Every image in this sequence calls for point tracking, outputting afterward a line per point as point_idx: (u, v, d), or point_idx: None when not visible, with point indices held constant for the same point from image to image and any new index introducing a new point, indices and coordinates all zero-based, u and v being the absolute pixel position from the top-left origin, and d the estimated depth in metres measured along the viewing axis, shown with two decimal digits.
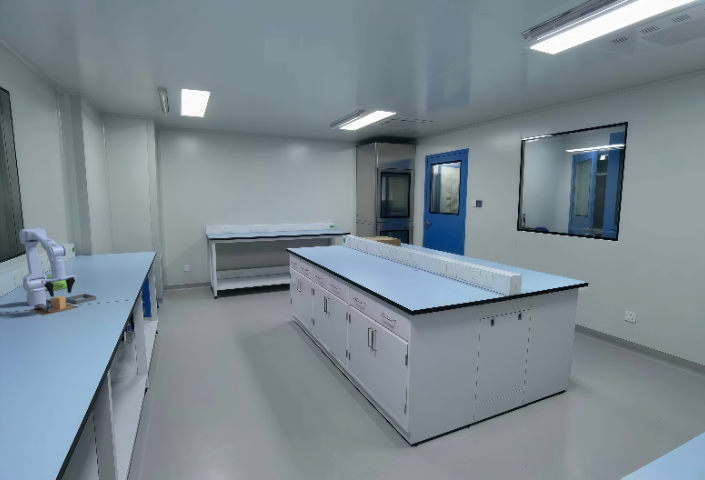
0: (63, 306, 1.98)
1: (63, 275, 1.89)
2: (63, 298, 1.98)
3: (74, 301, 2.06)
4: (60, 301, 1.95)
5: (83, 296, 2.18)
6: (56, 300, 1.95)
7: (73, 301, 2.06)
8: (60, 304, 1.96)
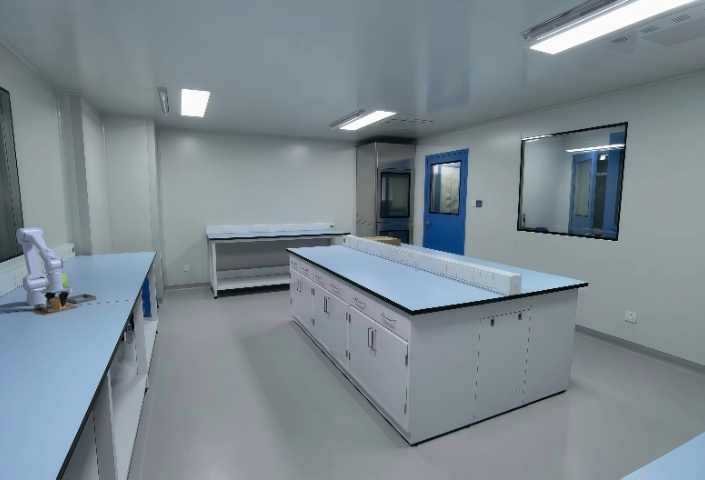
0: (63, 306, 1.98)
1: (54, 288, 1.93)
2: None
3: (74, 301, 2.06)
4: (60, 301, 1.95)
5: (83, 296, 2.18)
6: (56, 300, 1.95)
7: (73, 301, 2.06)
8: (60, 304, 1.96)
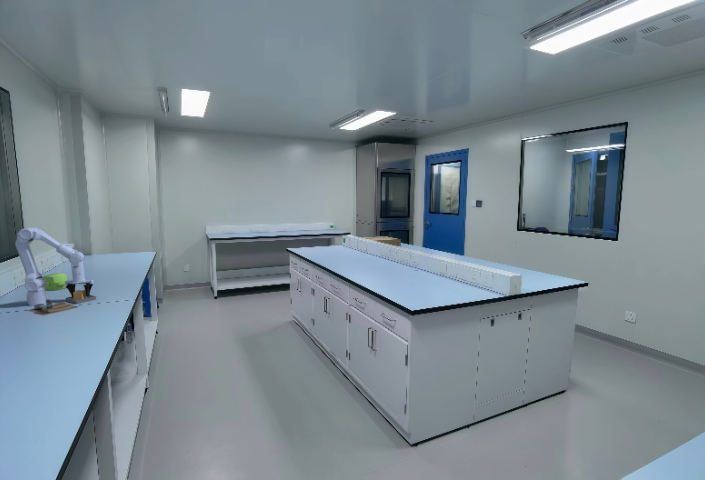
0: None
1: (77, 279, 2.08)
2: None
3: (74, 301, 2.06)
4: (82, 294, 2.10)
5: None
6: (79, 293, 2.09)
7: (73, 301, 2.06)
8: (82, 297, 2.10)
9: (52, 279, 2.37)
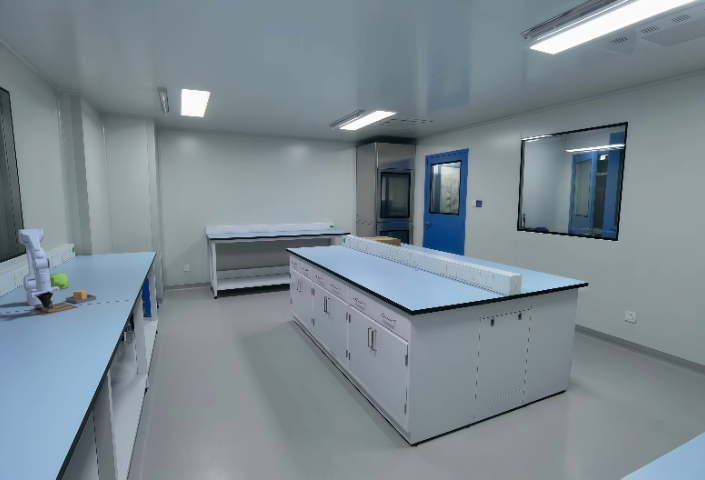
0: None
1: (50, 287, 1.87)
2: (85, 292, 2.12)
3: (74, 301, 2.06)
4: (82, 294, 2.10)
5: None
6: (79, 293, 2.09)
7: (73, 301, 2.06)
8: (82, 297, 2.10)
9: (52, 279, 2.37)
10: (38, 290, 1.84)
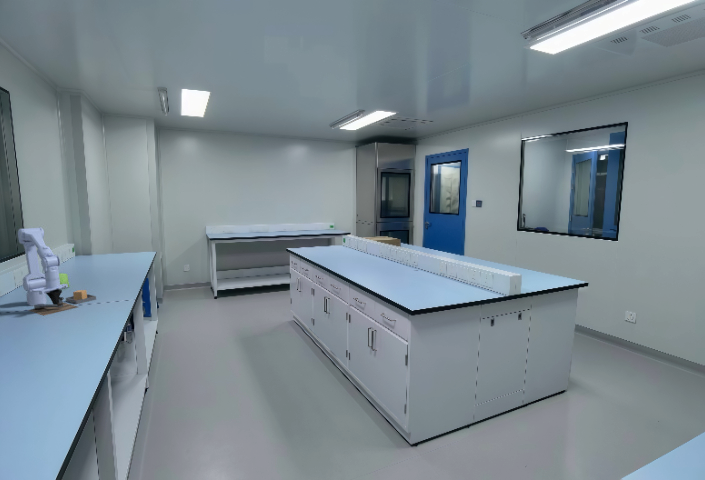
0: None
1: (59, 284, 1.92)
2: (85, 292, 2.12)
3: (74, 301, 2.06)
4: (82, 294, 2.10)
5: None
6: (79, 293, 2.09)
7: (73, 301, 2.06)
8: (82, 297, 2.10)
9: None
10: (48, 287, 1.89)
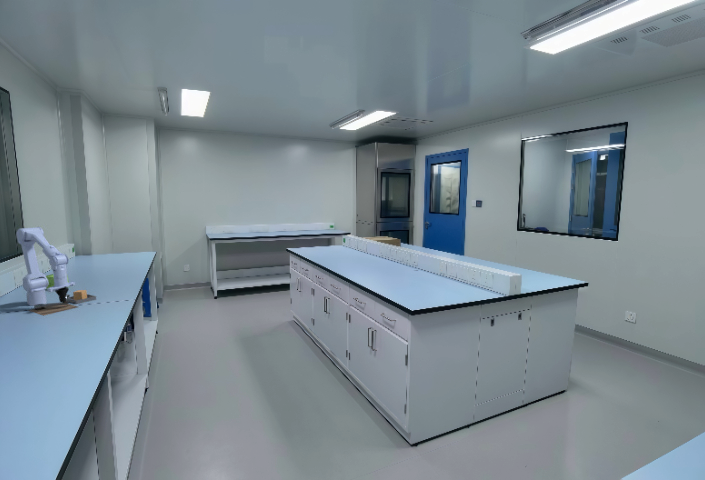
0: None
1: (67, 282, 1.97)
2: (85, 292, 2.12)
3: (74, 301, 2.06)
4: (82, 294, 2.10)
5: None
6: (79, 293, 2.09)
7: (73, 301, 2.06)
8: (82, 297, 2.10)
9: (52, 279, 2.37)
10: (56, 285, 1.94)
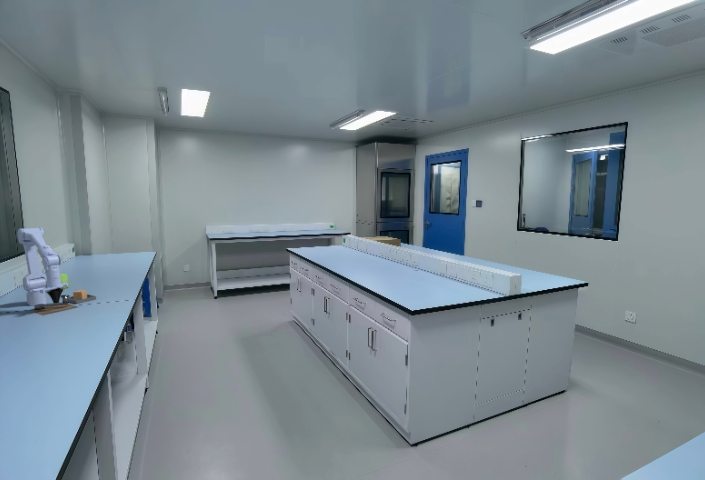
0: None
1: (60, 283, 1.93)
2: (85, 292, 2.12)
3: (74, 301, 2.06)
4: (82, 294, 2.10)
5: None
6: (79, 293, 2.09)
7: (73, 301, 2.06)
8: (82, 297, 2.10)
9: None
10: (49, 286, 1.90)
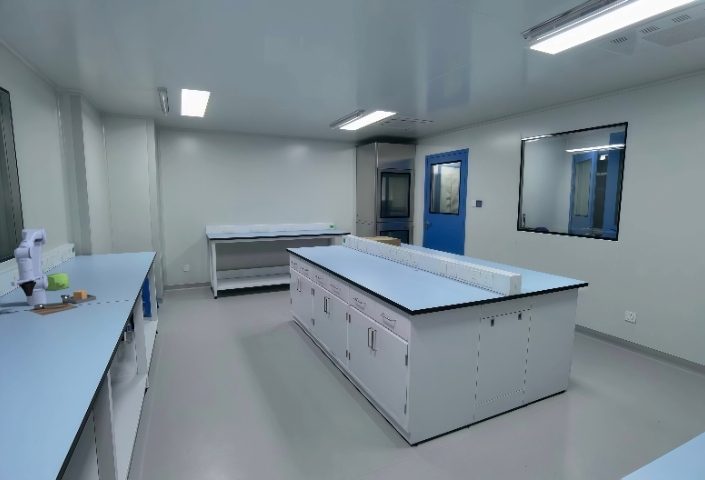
0: None
1: (33, 276, 1.91)
2: (85, 292, 2.12)
3: (74, 301, 2.06)
4: (82, 294, 2.10)
5: None
6: (79, 293, 2.09)
7: (73, 301, 2.06)
8: (82, 297, 2.10)
9: (53, 279, 2.37)
10: (21, 279, 1.87)
